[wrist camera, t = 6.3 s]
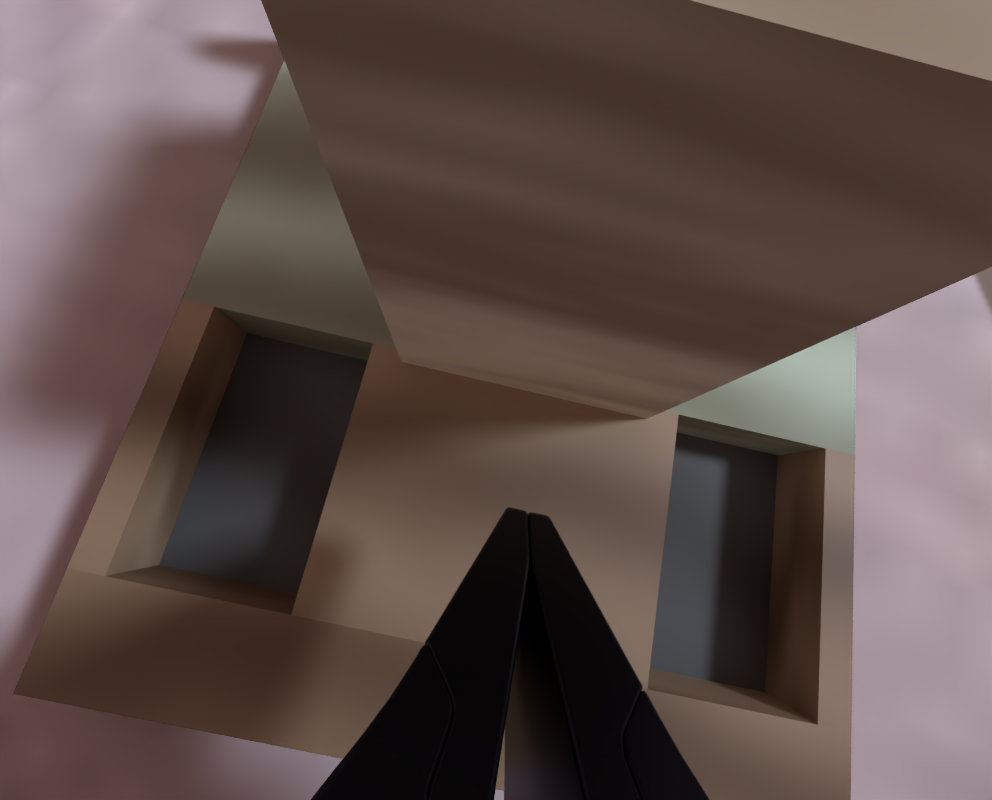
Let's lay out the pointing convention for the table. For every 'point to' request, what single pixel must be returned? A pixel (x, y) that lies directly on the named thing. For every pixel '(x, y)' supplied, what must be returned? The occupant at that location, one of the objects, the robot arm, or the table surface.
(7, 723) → the table surface
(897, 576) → the table surface
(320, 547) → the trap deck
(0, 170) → the table surface
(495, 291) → the birch block
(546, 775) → the robot arm
